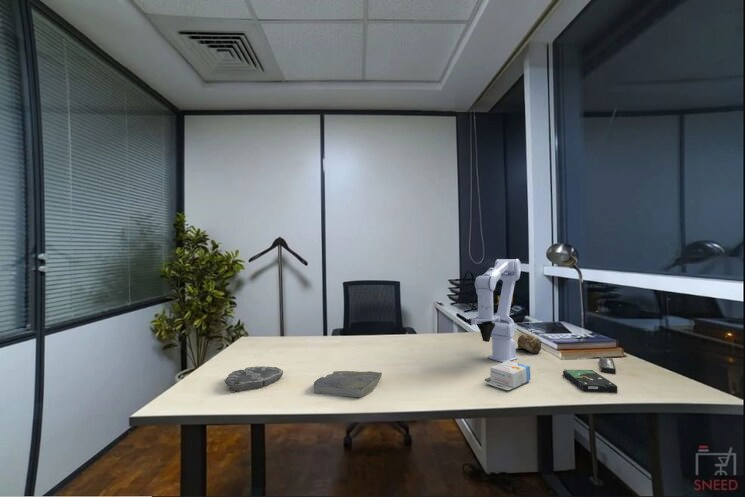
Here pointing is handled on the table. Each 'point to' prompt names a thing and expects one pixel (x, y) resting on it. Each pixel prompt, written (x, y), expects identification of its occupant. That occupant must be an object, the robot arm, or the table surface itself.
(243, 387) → the brain slice
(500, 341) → the robot arm
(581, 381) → the disk drive
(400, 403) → the table surface
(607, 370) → the multiport hub
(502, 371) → the ink box
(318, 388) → the fossil
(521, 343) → the seashell
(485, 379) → the mat
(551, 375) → the table surface
